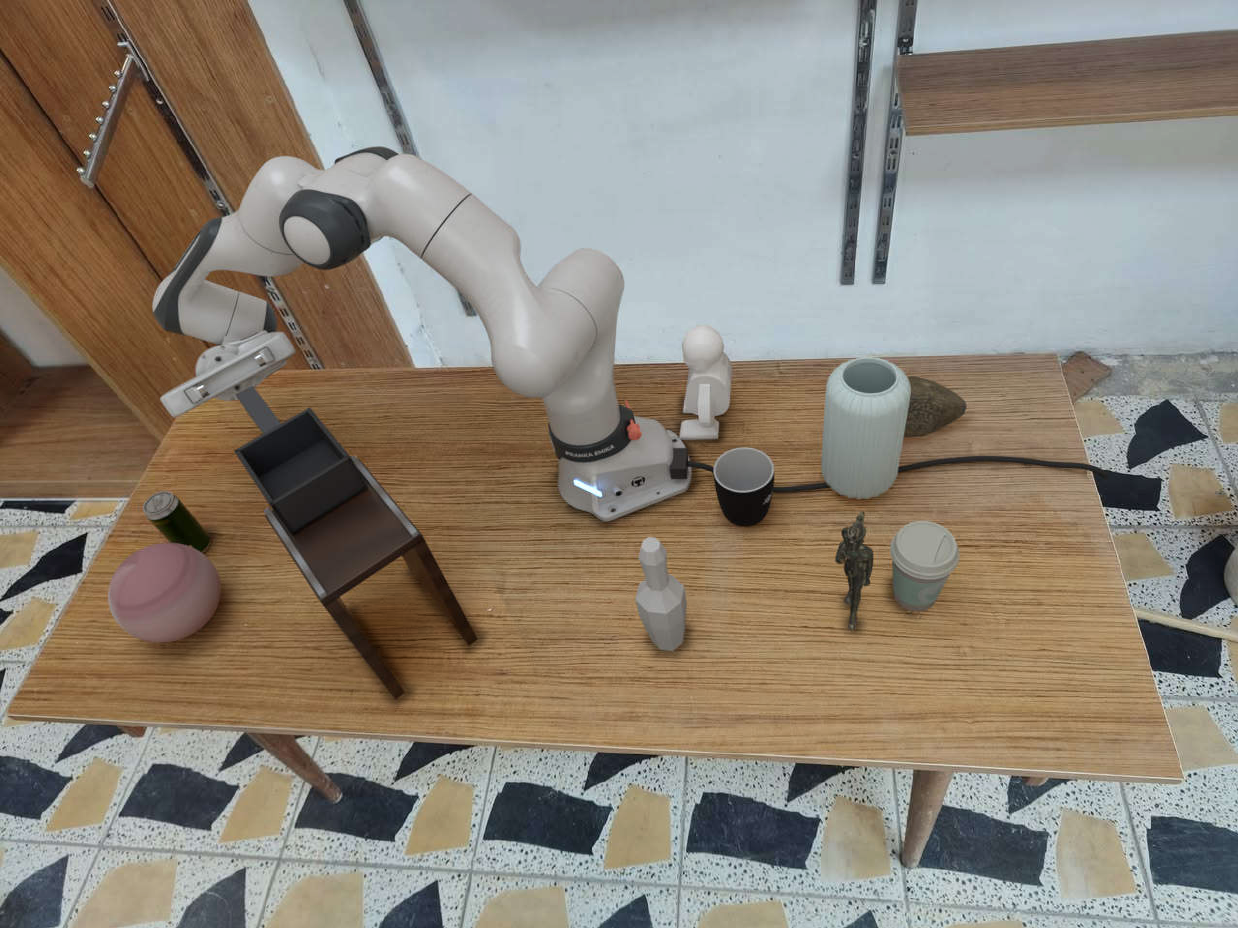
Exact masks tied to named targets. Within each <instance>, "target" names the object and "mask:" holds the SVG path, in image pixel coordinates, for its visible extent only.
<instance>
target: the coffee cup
mask: <svg viewBox="0 0 1238 928" xmlns="http://www.w3.org/2000/svg"><path fill="white" fill-rule="evenodd" d="M889 552H890V556H891V560H892V561H891V562H892V563H891V565H892V594H893V595H892V596H893V598H894V600H895V601H896V603H897V604H898V605H899V606H901V607H902V608H904V609H906V610H908V611H911V612H925V611H927V610H929V609H931V608H932V607H933V606H934V605H935V604H936V601H937V600H938V598H939V597H940V595H941V593H942V591H943V589H944V586H945V585H946V582H947V580H948V578H950V575H951V573H953V571H955V570H956V568H957V566H958V565H959V562H960V549H959V546H958V543H957V541H956V539H955V536H954V535H953V534H952V532H951V531H950V530H949V529H948V528H946V527H945V526H943V525H941V524H940V523H936V522H933V521H929V520H916V521H915V520H914V521H912V522H909V523H907V524H905V525H903V526H902V527H901V528H900V529H899V530H898V531H897V532H896V533H895V535H894V536H893V538H892V540H891V542H890V547H889Z"/></svg>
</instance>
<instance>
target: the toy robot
mask: <svg viewBox="0 0 1238 928" xmlns="http://www.w3.org/2000/svg"><path fill="white" fill-rule="evenodd" d="M724 349H725V345H724V340H723V337H722V335H721V333H720V332H719V331H718V330H717V329H715V327H713V326H711V325H709V324H697V325H696V326H693V327H692V328H690V329H689V330H688V331H687V332H686V333H685V334H684V336H683V338H682V341H681V350H682V358H683V362H684V364H685V365H686V366H687V367H688V374H687V382H686V389H685V396H684V400H683V408H682V414H693V415H695V416H698V418H696V419H686V420H683V421H681V423H680V429H679V435H678V437H679V438H680V439H681V441H696V440H697V441H700V440H719V433H720V432H719V431H720V421H719V420H717V419H716V418H715V417H717V416H722V415H723V414H725V413H726V412H727V411H728V409H729V408H730V402H731V392H732V380H733V379H732V378H733V366H732V362H731V359H730V358H729V356H728V354H727V353H726V352H725V351H724Z"/></svg>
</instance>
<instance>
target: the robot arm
mask: <svg viewBox="0 0 1238 928" xmlns="http://www.w3.org/2000/svg"><path fill="white" fill-rule="evenodd" d="M384 237H388V238H393V239H395V240H396V241H398V242H400V243H401V244H403V245H404V246H405V247H406V248H408V249H409V250H410V251H411V252H412V253H413V254H414V255H416V257H418V258H419V259H420V260H422V261H423V263H425V264H426V265H427V266H428V267H430V268H431V269H433V271H435V272H436V273H437V274H438V275H440V276H441V277H442V278H443V279H444V280H445V281H447V282H448V283H449V284H450V285H451V286H452V287H453V288H454V289H455V290H456V291H458V292H459V293H460V294H461V295H462V296H463V297H464V298H465V300H466V301H467V302H468V303H469V304H470V305H471V306H472V308H473V309H474V311H475V312H476V314H477V315H478V317H479V319H480V321H481V323H482V325H483V327H484V329H485V331H486V334H487V337H488V340H489V341H488V342H489V345H490V357H491V364H492V365H491V366H492V368H493V370H494V372H495V375H496V377H497V378H498V379H499V381H500V382H501V383H502V384H503V385H504V386H505V387H506V388H507V389H509V390H510V391H511V392H513V393H515V394H516V395H519V396H520V397H523V398H524V397H525V398H529V399H541V400H542V403H543V407H544V409H545V414H546V417H547V420H548V424H547V425H548V436H549V440H550V443H551V446H552V449H553V453H555V456H556V458H557V463H558V476H557V489H558V492H559V495H560V497H561V498H562V500H564V501H565V503H567V505H569V506H571V507H572V508H574V509H577V510H580V511H584V512H587V513H590V514H592V515H593V516H595V517H596V518H597V519H599V520H600V521H601V522H610V521H613V520H616V519H619V518H621V517H624V516H627V515H629V514H632V513H634V512H636V511H639V510H643V509H644V508H647V507H650V506H652V505H655V504H657V503H660V502H662V501H665V500H668V499H670V498H672V497H675V496H677V495H680V494H683V493H685V492H687V491H688V490H689V487H690V486H691V484H692V477H693V468H694V469H698V470H704V471H707V472H710V473H711V474H713V469H714V465H710V464H707V463H704V462H697V461H692V460H690V459H691V458H690V456H689V451H688V447H686V446H685V444H684V442H683V440H681V439H680V438H679V435H677V434H676V433H674V432H673V431H672V430H669V429H666V428H665V427H664V425H663V424H662V423H661V422H660V421H658V420H656V419H654V418H649V417H643V416H640V415H639V416H638V415H635V414H634V411H633V410H632V409H631V407H630V403H629V402H628V400H627V398H624V403H625V406H624V405H622V404H620V403H619V400H618V395H617V388H616V382H615V355H616V339H617V327H618V319H619V318H618V317H619V311H620V307H621V302H622V298H623V295H624V291H625V277H624V275H623V272H622V270H621V269H620V266H618V264H617V263H616V262H615V261H614V260H613V259H612V258H611V257H610V256H608V255H607V254H606V253H604V252H602V251H600V250H598V249H595V248H589V247H585V248H578V249H576V250H574V251H573V252H571V253H569V254H568V255H567V256H565V257H563V259H561V260H560V261H559V262H557V263H556V264H555V265H553V266H552V267H551V269H549V271H548V272H547V273H546V274H545V276H544V278H542V279H541V281H540V282H539V283H538V284H537V285H536V284H534V282H533V281H532V280H531V278H530V277H529V275H528V274H527V272H526V271H525V269H524V266H523V264H522V259H521V254H522V242H521V238H520V236H519V234H518V232H517V231H516V230H515V229H514V227H512V226H511V225H510V224H509V223H508V222H506V220H504V219H503V218H502V217H501V216H500V215H498V214H497V213H496V212H494V211H493V210H492V209H491V208H490V207H489V206H488V205H487V204H485V203H484V202H483V201H482V200H480V199H479V198H478V197H477V196H476V195H475V194H473V192H472V191H470V190H469V189H467V188H466V187H465V186H463V185H462V184H461V183H459V182H458V181H457V180H456V179H454V178H453V177H451V176H450V175H448V174H447V173H446V172H444V171H442V170H441V169H439V168H438V167H436V166H435V165H433V164H431V163H430V162H428V161H426V160H424V159H423V158H420V157H419V156H417V155H414V154H411V153H398V152H397V151H395V150H393V149H391V148H389V147H387V146H379V145H377V146H369V147H364V148H361V149H358V150H355V151H352V152H350V153H348V154H346V155H342V156H340V157H337V158H336V159H334V162H333V165H332V166H330V167H328V168H326V169H318V168H316V167H315V166H313V165H312V164H310V163H309V162H308V161H306V160H304V159H302V158H298V157H295V156H289V155H280V156H275V157H273V158H271V159H269V160H267V161H266V162H265V163H264V164H263V165H261V167H260V168H259V170H258V171H257V172H256V173H255V175H254V176H253V178H252V180H251V182H250V183H249V185H248V187H247V189H246V190H245V192H244V195H243V197H242V199H241V202H240V203H239V207H238V209H237V210H236V211H234V212H232V213H230V214H228V215H225V216H222V217H220V216H219V217H213V218H210V219H209V220H208V221H207V222H206V223H204V225H203V226H202V227H201V228H200V229H199V231H198V232H197V234H196V235H195V237H194V238H193V239H192V240H191V242H190V243H189V245H188V246H187V248H186V250H185V251H184V252H183V254H182V255H181V257H180V259H179V260H178V262H177V263H176V264H175V266H174V267H173V269H172V270H171V271H169V272H168V274H167V276H166V277H165V278H164V279H163V280H162V281H161V282H160V283H159V285H158V287H157V288H156V290H155V292H154V296H153V299H152V305H151V306H152V315H153V317H154V319H155V320H156V322H157V323H158V324H159V326H160V327H161V328H162V329H163V331H165V332H168V333H173V334H177V335H181V336H188V337H191V338H195V339H197V340H200V341H204V342H207V343H210V344H214V345H215V346H210V347H209V348H207V349H206V350H204V351H203V352H202V353H201V354H200V355H199V356H198V358H197V361H196V363H195V368H194V369H195V370H194V371H195V372H194V373H195V376H194V377H192V378H190V379H189V380H187V381H184V382H183V383H180V384H179V385H176V386H175V387H173V388H171V389H170V390H168V391H167V392H165V393H164V394H163V395H161V396H160V398H159V400H160V402H161V404H162V405H163V407H164V409H166V410H167V412H168V413H169V414H170V416H171V417H172V418H175V419H176V418H178V417H180V416H183V415H185V414H187V413H188V412H191V411H192V410H194V409H196V408H198V407H200V406H201V405H203V404H205V403H207V402H208V401H210V400H213V399H215V400H219V401H225V402H234V401H239V400H238V398H237V397H236V394H238V393H240V392H241V391H243V390H245V389H247V388H249V387H251V386H253V387H254V388H255V389H256V388H257V387H258V386H259V385H260V384H261V383H262V382H263V381H264V380H265V379H268V378H269V377H270V376H271V375H273V374H274V373H276V372H277V371H279V370H281V369H282V368H283V367H285V366H286V365H287V364H288V362H287V361H288V360H289V359H291V358H292V357H293V356H295V355H296V353H297V351H296V349H295V347H294V346H293V344H292V342H291V340H290V339H289V337H288V336H287V334H286V333H285V332H284V331H283V332H282V331H277V328H278V320H277V317H276V313H275V311H274V309H273V307H272V305H271V304H270V303H269V302H268V300H265V299H262V298H259V297H256V296H254V295H251V294H248V293H245V292H242V291H239V290H235V289H232V288H229V287H227V286H223V285H221V284H217V283H215V282H213V281H210V280H208V279H207V280H206V278H207V277H208V276H209V274H210V273H211V272H214V271H231V272H240V273H245V274H250V275H256V276H259V277H261V276H262V277H280V276H285V275H289V274H290V273H293V272H295V271H296V270H298V269H299V268H300V267H301V266H303V265H304V264H306V265H307V266H310V267H311V268H314V269H317V270H321V271H330V270H334V269H337V268H339V267H343V266H345V265H347V264H349V263H351V262H353V261H354V260H356V259H357V258H358V257H359V256H360V255H362V254H363V253H364V252H366V251H367V250H368V249H370V248H371V246H372V245H374V244H375V243H377V242H379V241H380V240H382V239H383V238H384ZM963 463H1008V464H1009V463H1010V464H1021V465H1029V466H1030V465H1031V466H1038V467H1044V468H1046V467H1047V468H1055V469H1076V470H1085V471H1089V472H1092V473H1095V474H1097V475H1098V476H1099V477H1101V478H1103V479H1109V478H1110V475H1109V473H1108V472H1107V471H1106V470H1104V469H1102V468H1100V467H1098V466H1096V465H1092V464H1090V463H1089V464H1088V463H1083V462H1069V461H1053V460H1052V461H1051V460H1044V459H1036V458H1035V459H1034V458H1028V457H1019V456H1018V457H1017V456H1004V455H1003V456H1001V455H969V456H956V457H947V458H946V457H945V458H939V459H931V460H926V461H921V462H920V461H919V462H915V463H911V464H905V465H901V466H900V465H899V467H898V473H897V474H900V473H904V472H909V471H913V470H920V469H924V468H925V469H926V468H930V467H936V466H942V465H943V466H944V465H950V464H951V465H953V464H963ZM823 489H831V486H829V485H828V484H827V483H826V482H825V481H824V482H818V483H809V484H801V485H792V486H774V487H773V494H774V493H775V494H781V493H782V494H784V493H785V494H786V493H788V494H789V493H799V492H805V491H817V490H823Z"/></svg>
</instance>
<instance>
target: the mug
mask: <svg viewBox="0 0 1238 928" xmlns="http://www.w3.org/2000/svg"><path fill="white" fill-rule="evenodd" d="M713 467H714V469H713V473H712V475H713V483H714V489H715V493H716V498H717V501H718V504H719V507H720V510H721V512H722V514H723V515H724V517H725V518H726V520H727V521H729V523H731V524H732V525H735V526H737V527H741V528H750V527H753V526H756V525H758V524H760V523H761V522H763V520H764V519H765V518H766V517H767V514H768V513H769V511H770V507H771V504H772V500H773V494H774V493H773V487H775V465H774V462H773V461H772V459H771V457H770V456H769V455H767V453H765V452H763V451H762V450H759V449H757V448H753V447H744V446H743V447H736V448H732V449H729V450H727V451H725V452H723V453H722V454H721V455H720V456H719V457H718V458H717V459H716V461H715V462H714V465H713Z"/></svg>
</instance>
